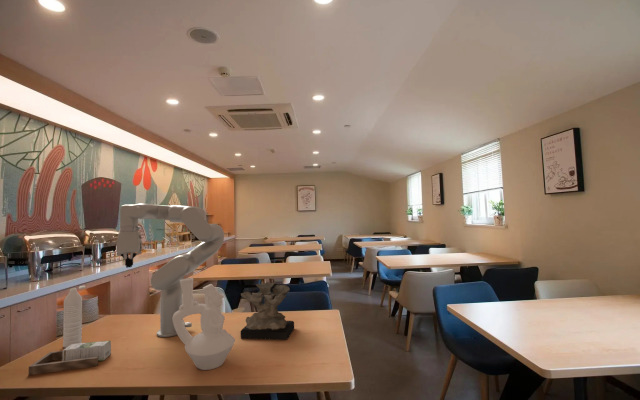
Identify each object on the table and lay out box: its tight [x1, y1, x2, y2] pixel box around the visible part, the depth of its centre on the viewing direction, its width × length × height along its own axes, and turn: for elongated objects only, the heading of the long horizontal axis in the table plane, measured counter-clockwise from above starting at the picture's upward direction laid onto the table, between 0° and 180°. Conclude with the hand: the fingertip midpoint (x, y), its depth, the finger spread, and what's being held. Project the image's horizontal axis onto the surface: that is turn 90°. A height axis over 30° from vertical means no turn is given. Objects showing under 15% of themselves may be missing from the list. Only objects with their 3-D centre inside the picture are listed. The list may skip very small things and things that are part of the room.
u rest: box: [28, 350, 99, 376], centre depth 117 cm, size 21×12×3 cm, turn 104°
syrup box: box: [61, 340, 112, 362], centre depth 119 cm, size 6×6×14 cm
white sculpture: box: [172, 277, 236, 371], centre depth 113 cm, size 18×22×32 cm
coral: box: [239, 281, 295, 341], centre depth 144 cm, size 25×20×21 cm
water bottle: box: [62, 285, 87, 349], centre depth 136 cm, size 9×6×25 cm
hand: (129, 267), depth 147 cm, fingers closed
